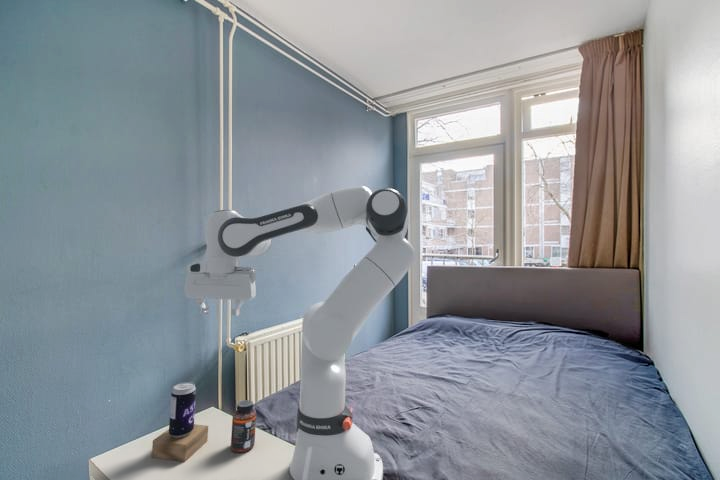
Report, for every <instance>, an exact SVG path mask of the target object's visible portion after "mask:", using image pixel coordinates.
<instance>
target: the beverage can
mask: <svg viewBox="0 0 720 480" xmlns="http://www.w3.org/2000/svg"><path fill="white" fill-rule="evenodd" d="M170 394H171V396H170V410H169V422H168V423H169V426H168V429H169V434H170V435H172V436H173V437H175V438H180V437H184V436H186V435H188V434H189V433H190V432H191V431H192V430H193V428H194V424H195V414H196V413H195V411H196V399H197V397H196V396H197V388H196V385H195V383H194V382H191V381H187V382H181V383H177V384H176V385H174V386H173V389H172V391H171V393H170Z"/></svg>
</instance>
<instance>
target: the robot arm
mask: <svg viewBox="0 0 720 480" xmlns="http://www.w3.org/2000/svg"><path fill="white" fill-rule="evenodd" d="M355 225H363V226H365V230H366V232H367V233H368V234H369V236H370V237H371V238H372V240H373V241H374V242H375V244H374V246H373V247H372V248H371V249H370V251H368V253H367V254H365V255H364V256H363V257H362V259H360V261H359V262H357V263H356V264H355V266H354V267H352V269H351V270H350V271H349V272H347V274H346V275H345V276H344V277H343V278H342V279H341V280H340V282H339V284H338V285H337V286H336V288H335V289H334V290H333V291H332V293H331V294H330V295H329V296H328V297H327V299H326V300H325V301H320V302H315V303H314V304H312V305H310V306H309V307H308V308H307V309H306V311H305V313H304V314H303V318H302V322H301V323H302V326H301V350H300V351H301V352H300V353H301V355H300V357H301V359H300V360H301V361H300V362H301V363H300V385H299V387H300V388H299V406H298V407H297V412H296V418H295V419H296V420H295V421H296V422H295V425H296V426H295V427H296V441H295V446H294V449H293V455H292V458H291V462H290V465H289V468H288V469H289V474H290V476H291V477H292V479H293V480H383V476H384V464H383V461H382V457H381V456H380V455H379V453H376V452H375V451H374V446H373V442H372V439H371V437H370V436H369V435H368V434H366V433H365V432H364V431H363V430H362V429H361V428H360V427H358V425H356V424H355V423H354V422H353V407H350V409H349V408H348V407H347V406H346V404H345V403H346V384H347V383H346V380H347V374H346V362H345V361H346V359H345V355H346V353H347V352H348V351H349V349H350V347H351V345H352V342H353V341H354V339H355V337H356V336H357V335H358V334H359V332H360V331H361V329H362V328H363V326H364V324H365V323H366V321H367V320H368V318H369V317H370V316H371V314H372V313H373V312H374V310H375V309H376V308H377V306H379V305H380V304H381V302H382V301H383V300H384V299H385V298H386V297H387V296H388V295H389V294H390V293H391V291H393V289H395V287H396V286H397V285H398V284H399V283H400V282H401V280H402V279H403V278H404V277H405V275H406V274H407V273H408V271H409V270H410V268H411V267H412V265H413V263H414V261H415V260H416V251H415V249H414V247H413V245H412V244H411V242H410V241H409V240H408V239H407V235H408V227H409V212H408V205H407V202H406V200H405V198H404V196H403V195H402V194H401V192H399V191H398V190H396V189H394V188H391V187H390V188H389V187H385V188H380V189H378V190H376V191H374V192H372V190H370V189H369V188H368V187H367V186H364V185H355V186H350V187H348V186H347V187H343V188H341V189H337V190H333V191H330V192H327V193H324V194H322V195H320V196H317V197H315V198H313V199H312V198H311V199H310V200H308V201H305V202H303V203H299V204H297V205H296V206H293V207H290V208H286V209H283V210H280V211H275V212H272V213H269V214H266V215H262V216H258V217H253V218H251V217H250V218H249V217H248V218H247V217H244V216H242V215H241V214H239V213H238V211H236V210H233V209H220V210H216V211H214V212H212V213H210V214H209V216H208V218H207V220H206V228H205V244H206V250H205V253H204V260H201V261H198V262H195V263H190V264H189V265H187V268H186V271H187V273H188V274H187V275H186V277H185V279H184V289H183V290H184V292H183V293H184V296H185V297H186V298H187V299H196V303H197V306H198V307H199V309H200V310H199V314H200V315H204V316H205V315H208V314H209V310H210V309H209V307H207V306H206V304H205V302H206V300H209V299H210V300H232V301H233V300H234V303H235V304H236V306H235V307H234V308H232V309H231V310H230V311H231V314H230V316H232V317H233V316H234V317H235V316H237V317H238V316H239V315H240V309H241V307H242V306H243V305H244V302H245V301H250V300H253V299H255V297H256V296H257V288H256V277H257V275H256V274H257V272H256V271H255V270H254V269H253V268H252V267H251V266H239V257H243V256H244V257H245V256H259V255H262V254H264V253H266V252H267V251H269V249H270V247H271V245H272V240H273V239H275V238H276V239H277V238H279V237H282V236H285V235H289V234H293V233H315V234H326V233H327V234H328V233H331V232H337V231H341V230H343V229H346V228H350V227H352V226H355Z"/></svg>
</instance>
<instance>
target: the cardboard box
mask: <svg viewBox="0 0 720 480" xmlns="http://www.w3.org/2000/svg"><path fill="white" fill-rule="evenodd" d="M208 433H209V425H203V424H195V423H194V428H193V430H192V431H191V432H190V433H189V434H188V435H186V436H184V437H180V438H175V437H173V436H172V435H170V434H169V428H168V429H166V430H165V431H164V432H163V433H161V434H160V435H159V436H157V437H155V438H154V439H153V440H152V445H151V446H152V447H151V448H152V449H151V458H154V459H155V458H157V459H163V460H168V461H175V462H176V461H177V462H183V463H185V462H186V461H188V459H190V458H191V457H192V456H193V455H194V454H195V453H196V452H198V450H200V449H201V447H203V446H204V445H205V444H206V443H207V442H208V440H209V439H208V435H209V434H208Z"/></svg>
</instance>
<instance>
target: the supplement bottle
mask: <svg viewBox="0 0 720 480" xmlns="http://www.w3.org/2000/svg"><path fill="white" fill-rule="evenodd" d="M256 423H257V411H256V409H254V401H252V400H249V399H247V400H246V399H245V400H244V399H243V400H241V401H239V402H238V403H237V404H236V410H235V411H234V412H233V414H232V423H231V439H230V448H231V451H233V452H235V453H245V452H248V451H250V450H251V449H252V448H253V447H254V446H255V442H256Z"/></svg>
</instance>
